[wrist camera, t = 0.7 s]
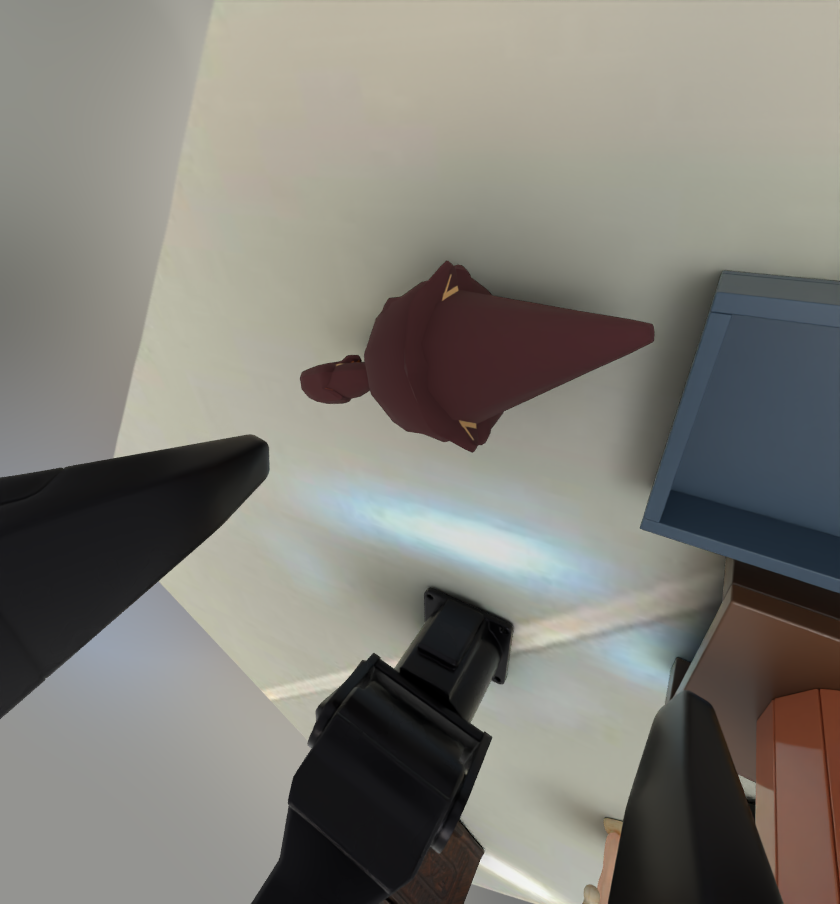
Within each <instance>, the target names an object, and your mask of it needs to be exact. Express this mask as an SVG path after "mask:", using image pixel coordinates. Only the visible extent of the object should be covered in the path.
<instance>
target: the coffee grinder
mask: <svg viewBox="0 0 840 904" xmlns="http://www.w3.org/2000/svg"><path fill="white" fill-rule="evenodd" d="M483 854H484V850H483V849H482V847H481V846H480V845H479V844H478V843H477V842H476V840H475V839H474V838H473V837H472V836H471V835H470V834H469V832H468V831H467V830H466V829H465V828H464V826H463V825H462V824H461V823H460V822H459V821H458V823H457V825H456V827H455V829H454V831H453V833H452V835H451V837H450V838H449V840H448V842H447V844H446V846H445V847H444V849H443V850H442V852H441V853H440V854H439V853H437V852H436V851H435V850H434V849H432V848H431V847H430V848H429V850H428V852H427V854H426V856H425V858H424V860H423V862H422V864H421V866H420V868H419V870H418V872H417V874H416V876H415V877H414V879H413V880H412V881H410V882H409V883H408V884H406V885H405V886H403V887H402V888H401V889H399V890H398V891H396V892H395V893H393V894H392V895H391V896H389V897H388V898H386V899H385V900H383V901H382V902H381V903H379V904H464V901H465V899H466V896H467V894H468V891H469V888H470V886H471V883H472V880H473V878H474V875H475V873H476V870H477V867H478V865H479V862H480V859H481V858H482V856H483Z"/></svg>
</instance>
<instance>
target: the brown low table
mask: <svg viewBox="0 0 840 904" xmlns="http://www.w3.org/2000/svg"><path fill="white" fill-rule="evenodd" d="M821 688H822V689H831V690H839V691H840V593H837V592H834V591H831V590H828V589H825V588H822V587H819V586H815V585H812V584H809V583H806V582H803V581H800V580H797V579H794V578H791V577H788V576H785V575H781V574H778V573H775V572H772V571H769V570H766V569H763V568H760V567H757V566H754V565H751V564H747V563H744V562H741V561H738V560H735V559H732V558H729V557H726V562H725V573H724V585H723V597H722V604H721V606H720V608H719V610H718V612H717V614H716V616H715V618H714V620H713V622H712V624H711V626H710V628H709V630H708V631H707V633H706V635H705V637H704V639H703V641H702V643H701V645H700V647H699V649H698V651H697V653H696V655H695V657H694V659H693V661H692V662H691V663H690V662H687V661H685V660H683V659H680V658H676V660H675V662H674V664H673V666H672V668H671V671H670V677H669V683H668V689H667V694H666V700H665V704H666V703H668V702H669V701H670V700H671V699H672V698H673V697H675V696H676V695H677V694H678V693H679V692H681V691H682V690H689V691H691V692H693V693H695V694H696V695H698V696H700V697H702V698H703V699H705V700H707V701H708V702H709V703H710V704H711V705H712V706H713V708H714V710H715V712H716V715H717V718H718V720H719V723H720V726H721V729H722V732H723V734H724V737H725V740H726V743H727V746H728V748H729V751H730V754H731V757H732V760H733V762H734V765H735V768H736V771H737V774H739V775H741V776H743V777H745V778H747V779H749V780H751V781H753V782H755V783H756V724H757V720H758V719H759V718H760V716H761V715H762V713H763V712H764V711H765V709H766V708H767V707H768V705H769V704H770V703H771V701H772V700H774V699H775V698H778V697H783V696H787V695H791V694H795V693H800V692H804V691H808V690H812V689H818V690H820V689H821Z"/></svg>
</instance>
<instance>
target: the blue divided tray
mask: <svg viewBox="0 0 840 904" xmlns="http://www.w3.org/2000/svg"><path fill="white" fill-rule="evenodd" d="M640 529H642V530H645V531H649V532H652V533H655V534H658V535H661V536H664V537H667V538H670V539H673V540H676V541H679V542H683V543H686V544H689V545H692V546H695V547H698V548H701V549H704V550H707V551H710V552H713V553H717V554H720V555H723V556H726V557H729V558H732V559H735V560H738V561H741V562H744V563H747V564H751V565H754V566H757V567H760V568H763V569H766V570H769V571H772V572H775V573H778V574H781V575H785V576H788V577H791V578H794V579H797V580H800V581H803V582H806V583H809V584H812V585H815V586H819V587H822V588H825V589H828V590H831V591H834V592H837V593H840V281H832V280H821V279H810V278H800V277H789V276H778V275H768V274H757V273H746V272H736V271H725V270H724V271H722V273H721V276H720V279H719V282H718V285H717V289H716V292H715V295H714V298H713V301H712V304H711V307H710V310H709V313H708V316H707V319H706V323H705V326H704V329H703V332H702V335H701V338H700V341H699V344H698V347H697V350H696V353H695V357H694V360H693V363H692V366H691V369H690V372H689V375H688V378H687V381H686V384H685V387H684V391H683V394H682V397H681V400H680V403H679V406H678V409H677V412H676V415H675V418H674V421H673V425H672V428H671V431H670V434H669V437H668V440H667V443H666V446H665V449H664V452H663V455H662V459H661V462H660V465H659V468H658V471H657V474H656V477H655V480H654V483H653V486H652V490H651V493H650V496H649V499H648V503H647V506H646V509H645V512H644V516H643V519H642V522H641V525H640Z"/></svg>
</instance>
